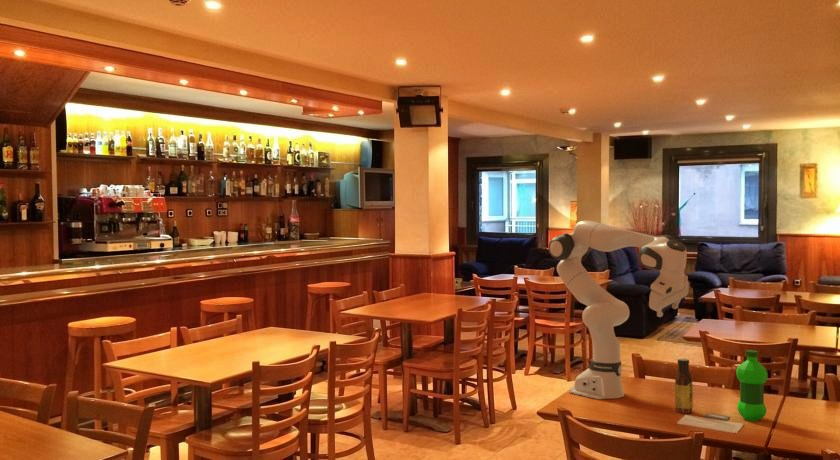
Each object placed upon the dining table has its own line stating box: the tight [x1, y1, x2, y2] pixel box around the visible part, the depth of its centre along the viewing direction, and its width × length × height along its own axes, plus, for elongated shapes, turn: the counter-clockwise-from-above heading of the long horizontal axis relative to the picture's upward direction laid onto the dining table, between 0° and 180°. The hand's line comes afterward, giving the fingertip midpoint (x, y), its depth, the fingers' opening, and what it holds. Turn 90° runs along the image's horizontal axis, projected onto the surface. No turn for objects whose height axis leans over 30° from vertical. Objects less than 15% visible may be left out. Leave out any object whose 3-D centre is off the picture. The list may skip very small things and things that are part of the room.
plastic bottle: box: [735, 349, 769, 422], centre depth 253 cm, size 10×10×25 cm
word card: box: [703, 412, 730, 421], centre depth 256 cm, size 8×5×1 cm, turn 54°
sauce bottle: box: [674, 358, 694, 414], centre depth 263 cm, size 7×6×20 cm
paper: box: [676, 414, 745, 435], centre depth 248 cm, size 20×12×1 cm, turn 54°
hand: (667, 312), depth 272 cm, fingers open, 8 cm apart
